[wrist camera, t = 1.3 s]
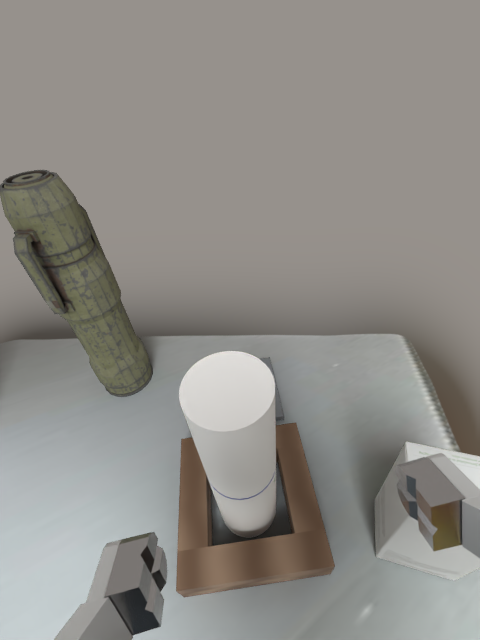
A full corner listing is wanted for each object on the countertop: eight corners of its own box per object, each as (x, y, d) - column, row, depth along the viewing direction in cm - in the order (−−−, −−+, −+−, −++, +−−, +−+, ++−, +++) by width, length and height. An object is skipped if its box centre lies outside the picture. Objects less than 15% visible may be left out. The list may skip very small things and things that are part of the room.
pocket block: (184, 597, 33) (176, 591, 31) (187, 452, 45) (181, 439, 43) (330, 574, 34) (334, 566, 31) (294, 436, 46) (295, 422, 43)
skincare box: (446, 518, 37) (512, 459, 26) (457, 588, 32) (542, 550, 22) (371, 497, 39) (404, 436, 29) (371, 560, 34) (411, 513, 24)
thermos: (160, 352, 61) (88, 158, 38) (143, 404, 52) (35, 193, 29) (117, 352, 62) (20, 163, 39) (93, 404, 53) (-51, 199, 30)
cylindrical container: (209, 514, 39) (158, 400, 23) (240, 465, 43) (217, 339, 27) (257, 551, 36) (239, 451, 19) (286, 495, 40) (292, 372, 23)
